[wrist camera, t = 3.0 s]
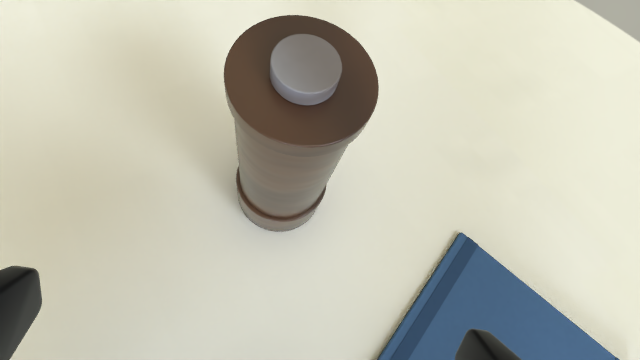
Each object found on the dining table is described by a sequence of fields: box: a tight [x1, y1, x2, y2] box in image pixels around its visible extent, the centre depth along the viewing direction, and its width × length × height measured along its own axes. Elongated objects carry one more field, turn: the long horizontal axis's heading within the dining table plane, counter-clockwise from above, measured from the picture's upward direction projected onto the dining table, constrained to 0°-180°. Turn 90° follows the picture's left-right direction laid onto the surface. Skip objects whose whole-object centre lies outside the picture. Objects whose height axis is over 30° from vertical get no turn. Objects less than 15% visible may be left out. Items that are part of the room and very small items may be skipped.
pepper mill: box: [224, 15, 379, 231], centre depth 17 cm, size 5×5×12 cm
